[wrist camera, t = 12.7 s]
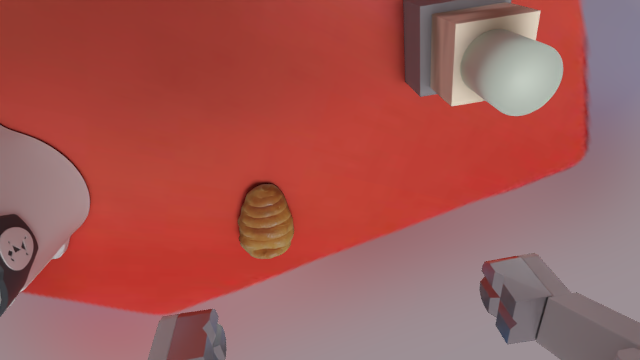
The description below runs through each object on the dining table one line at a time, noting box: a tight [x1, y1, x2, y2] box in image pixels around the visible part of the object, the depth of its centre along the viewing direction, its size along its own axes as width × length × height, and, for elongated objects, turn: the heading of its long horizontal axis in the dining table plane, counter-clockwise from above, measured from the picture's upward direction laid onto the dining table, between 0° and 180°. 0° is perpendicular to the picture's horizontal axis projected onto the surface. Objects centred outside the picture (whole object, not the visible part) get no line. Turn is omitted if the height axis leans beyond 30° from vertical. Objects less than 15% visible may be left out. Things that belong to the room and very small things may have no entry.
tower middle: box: [430, 2, 540, 106], centre depth 33 cm, size 6×6×5 cm
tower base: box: [403, 0, 511, 97], centre depth 37 cm, size 8×8×5 cm
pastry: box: [238, 184, 294, 259], centre depth 46 cm, size 9×7×4 cm
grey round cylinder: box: [460, 29, 563, 116], centre depth 29 cm, size 5×5×5 cm
